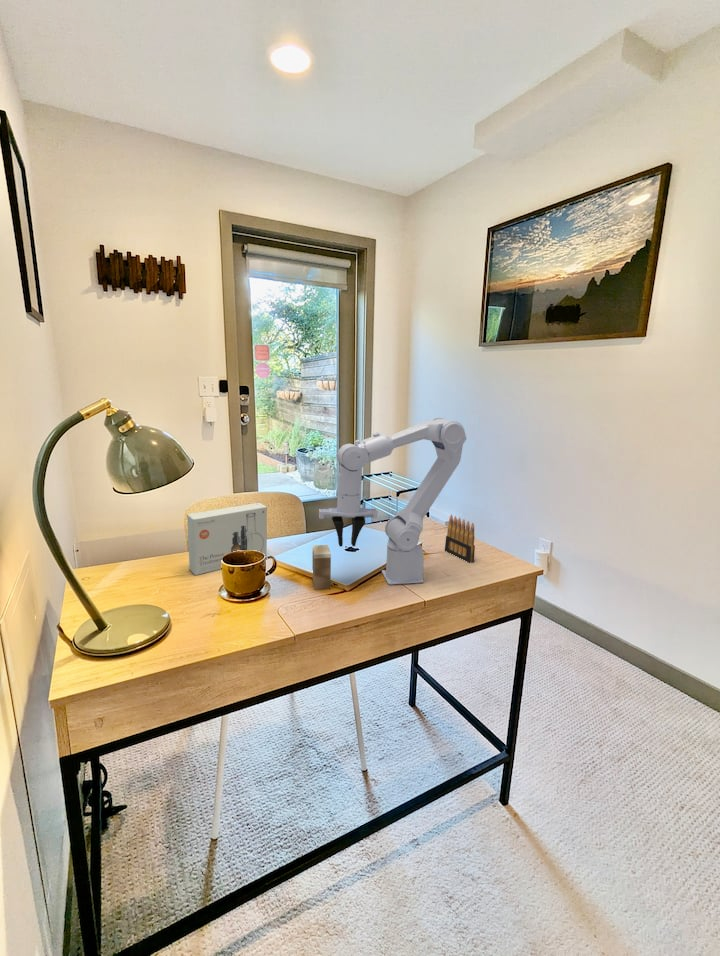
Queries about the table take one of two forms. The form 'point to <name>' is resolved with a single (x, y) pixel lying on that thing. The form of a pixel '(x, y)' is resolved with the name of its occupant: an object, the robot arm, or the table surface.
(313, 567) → the walnut block
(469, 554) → the ammunition clip
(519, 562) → the table surface
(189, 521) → the skincare box
